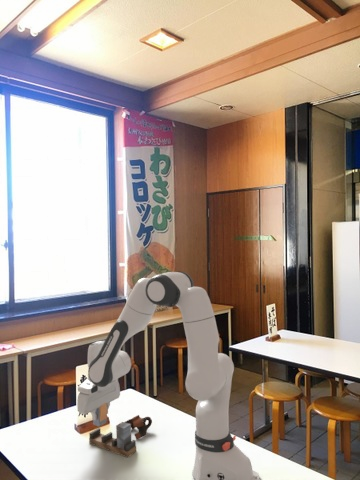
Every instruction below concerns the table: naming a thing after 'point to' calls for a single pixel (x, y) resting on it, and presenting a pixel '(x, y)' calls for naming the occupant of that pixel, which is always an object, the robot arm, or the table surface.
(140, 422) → the pottery mug
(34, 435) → the table surface
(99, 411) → the multicoloured piece
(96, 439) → the rail
